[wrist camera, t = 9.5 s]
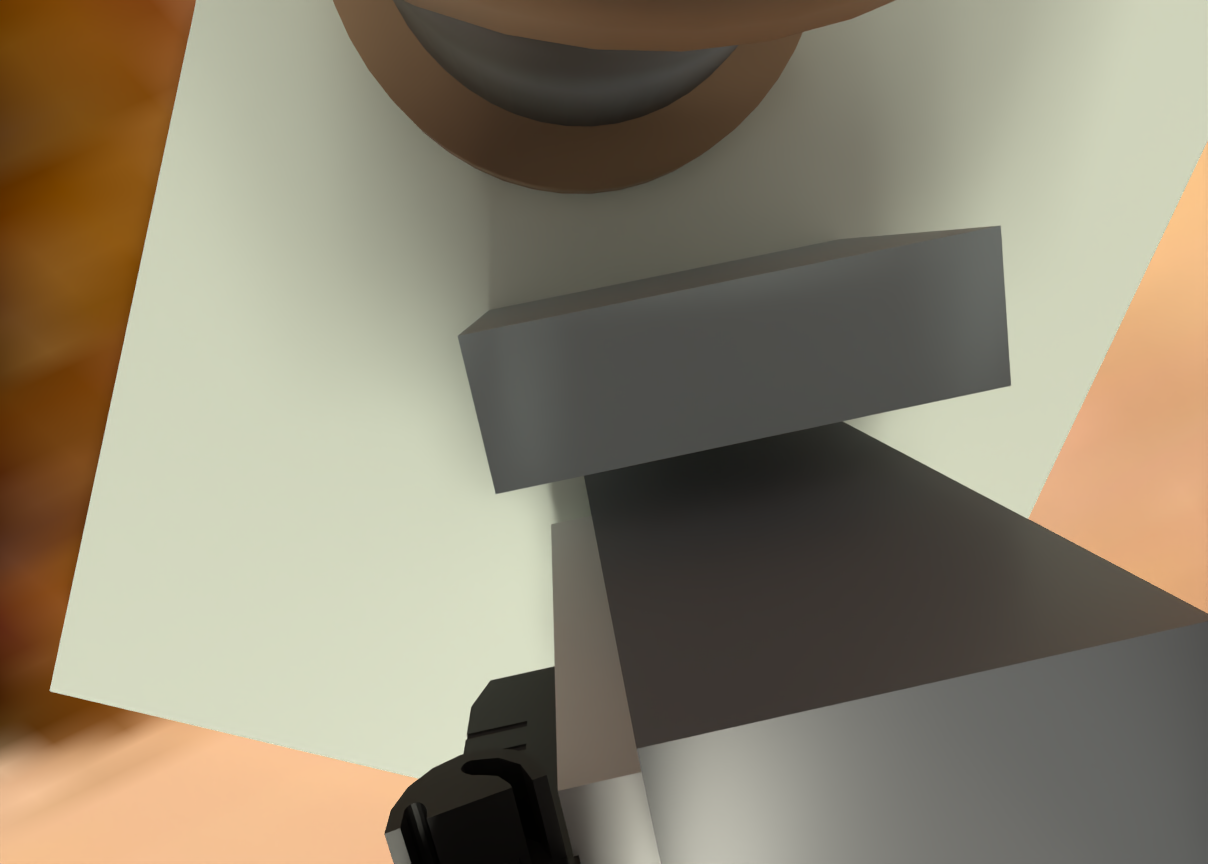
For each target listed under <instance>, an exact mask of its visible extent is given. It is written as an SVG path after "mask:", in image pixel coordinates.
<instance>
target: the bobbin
mask: <svg viewBox="0 0 1208 864" xmlns="http://www.w3.org/2000/svg"><path fill="white" fill-rule="evenodd" d="M893 1H895V0H333V2H334V5H335V7H336V9H337V11H338V14H339V16H340V18H341V20H342V23H343V25H344V27H345V29H346V31H347V34H348V36H349V38H350V40H351V41H352V43H353V45H354V46H355V48H356V50H357V51H358V53H359V55H360V56H361V58H362V60H363V61H364V63H365V65H366V66H367V68H368V70H369V71H370V72H371V74H372V75H373V76H374V78H375V79H376V80H377V81H378V83H379V84H380V85H381V87H382V88H383V89H384V90H385V92H386V93H387V94H388V96H389V97H390V98H391V99H392V100H393V101H394V103H395V104H396V105H397V106H398V107H399V108H400V109H401V110H402V111H403V112H404V113H405V114H406V115H407V116H408V117H409V118H410V119H411V120H412V121H413V122H414V123H415V124H416V125H417V126H418V127H419V128H420V129H421V130H422V131H423V132H424V133H425V134H426V135H427V136H429V137H430V138H431V139H432V140H434V141H435V142H436V143H438V144H439V145H440V146H441V147H443V148H444V149H445V150H446V151H448V152H449V153H451V154H452V155H454V156H455V157H457V158H459V159H460V160H462V161H464V162H465V163H467V164H469V165H470V166H472V167H474V168H475V169H478V170H480V171H482V172H484V173H487V174H489V175H491V176H494V177H496V178H498V179H500V180H503V181H506V182H509V183H513V184H516V185H519V186H523V187H526V188H530V189H534V190H541V191H548V192H555V193H561V194H593V193H601V192H609V191H617V190H622V189H625V188H629V187H633V186H637V185H640V184H644V183H648V182H650V181H652V180H655V179H657V178H659V177H662V176H664V175H666V174H669V173H671V172H673V171H675V170H677V169H679V168H680V167H682V166H684V165H685V164H687V163H689V162H691V161H692V160H694V159H696V158H697V157H699V156H700V155H702V154H703V153H705V152H706V151H708V150H709V149H710V148H712V147H713V146H714V145H715V144H717V143H718V142H719V141H721V140H722V139H723V138H724V137H726V136H727V135H728V134H729V133H731V132H732V131H733V130H735V129H736V128H737V127H738V126H739V125H740V124H741V123H742V122H743V121H744V119H745V118H746V117H747V116H748V115H749V114H750V113H751V112H752V111H753V110H754V109H755V108H756V107H757V106H758V105H759V104H760V102H761V101H762V100H763V98H764V97H765V96H766V94H767V93H768V92H769V91H770V89H771V88H772V87H773V85H774V84H775V83H776V81H777V80H778V79H779V77H780V75H781V73H782V72H783V70H784V68H785V66H786V65H787V63H788V61H789V60H790V58H791V56H792V54H793V53H794V51H795V49H796V47H797V44H798V42H799V40H800V38H801V35H802V33H803V32H805V31H809V30H812V29H816V28H820V27H824V26H827V25H831V24H835V23H839V22H842V21H846V20H850V19H853V18H855V17H858V16H860V15H862V14H865V13H867V12H870V11H872V10H874V9H877V8H879V7H881V6H884V5H886V4H888V3H891V2H893Z"/></svg>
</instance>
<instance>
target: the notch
mask: <svg viewBox="0 0 1208 864" xmlns="http://www.w3.org/2000/svg"><path fill="white" fill-rule="evenodd" d="M458 340H459V344H460V349H461V353H462V357H463V361H464V365H465V369H466V373H467V377H468V382H469V386H470V390H471V394H472V398H473V402H474V406H475V411H476V415H477V419H478V423H479V427H480V431H481V435H482V439H483V444H484V448H485V452H486V456H487V460H488V464H489V468H490V473H491V477H492V481H493V485H494V489H495V493H496V494H499V493H504V492H509V491H514V490H518V489H523V488H528V487H533V486H537V485H542V484H547V483H552V482H556V481H561V480H566V479H571V478H575V477H580V476H585V475H590V474H594V473H599V472H604V471H609V470H613V469H618V468H623V467H628V466H632V465H637V464H642V463H647V462H651V461H656V460H661V459H666V458H670V457H675V456H680V455H685V454H689V453H694V452H699V451H704V450H708V449H713V448H718V447H723V446H727V445H732V444H737V443H742V442H746V441H751V440H756V439H761V438H765V437H770V436H775V435H780V434H784V433H789V432H794V431H799V430H803V429H808V428H813V427H818V426H822V425H827V424H832V423H837V422H841V421H846V420H851V419H856V418H860V417H865V416H870V415H875V414H880V413H884V412H889V411H894V410H899V409H903V408H908V407H913V406H918V405H922V404H927V403H932V402H937V401H941V400H946V399H951V398H956V397H960V396H965V395H970V394H975V393H979V392H984V391H989V390H994V389H998V388H1003V387H1008V386H1011V375H1010V360H1009V345H1008V329H1007V314H1006V298H1005V283H1004V267H1003V252H1002V236H1001V226H989V227H978V228H966V229H954V230H942V231H930V232H918V233H906V234H895V235H883V236H871V237H859V238H847V239H838V240H833V241H828V242H823V243H818V244H813V245H808V246H803V247H798V248H794V249H789V250H784V251H779V252H774V253H769V254H764V255H759V256H754V257H749V258H744V259H739V260H734V261H729V262H724V263H719V264H714V265H710V266H705V267H700V268H695V269H690V270H685V271H680V272H675V273H670V274H665V275H660V276H655V277H650V278H645V279H640V280H635V281H631V282H626V283H621V284H616V285H611V286H606V287H601V288H596V289H591V290H586V291H581V292H576V293H571V294H566V295H561V296H556V297H551V298H547V299H542V300H537V301H532V302H527V303H522V304H517V305H512V306H507V307H502V308H497V309H492V310H489V311H487V312H486V313H485V314H484V315H482V316H481V317H480V318H479V319H478V320H476V321H475V322H474V323H473V324H471V325H470V326H469V327H468V328H467V329H465V330H464V331H463V332H462V333H460V334H459V335H458Z"/></svg>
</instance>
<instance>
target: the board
mask: <svg viewBox="0 0 1208 864" xmlns="http://www.w3.org/2000/svg"><path fill="white" fill-rule="evenodd" d="M1207 141H1208V0H895V1H893V2H891V3H888V4H886V5H884V6H881V7H879V8H877V9H874V10H872V11H870V12H867V13H865V14H862V15H860V16H858V17H855V18H853V19H850V20H846V21H842V22H839V23H835V24H831V25H827V26H824V27H820V28H816V29H812V30H809V31H805V32H803V33H802V35H801V38H800V40H799V42H798V44H797V47H796V49H795V51H794V53H793V54H792V56H791V58H790V60H789V61H788V63H787V65H786V66H785V68H784V70H783V72H782V73H781V75H780V77H779V79H778V80H777V81H776V83H775V84H774V85H773V87H772V88H771V89H770V91H769V92H768V93H767V94H766V96H765V97H764V98H763V100H762V101H761V102H760V104H759V105H758V106H757V107H756V108H755V109H754V110H753V111H752V112H751V113H750V114H749V115H748V116H747V117H746V118H745V119H744V121H743V122H742V123H741V124H740V125H739V126H738V127H737V128H736V129H735V130H733V131H732V132H731V133H729V134H728V135H727V136H726V137H724V138H723V139H722V140H721V141H719V142H718V143H717V144H715V145H714V146H713V147H712V148H710V149H709V150H708V151H706V152H705V153H703V154H702V155H700V156H699V157H697V158H696V159H694V160H692V161H691V162H689V163H687V164H685V165H684V166H682V167H680V168H679V169H677V170H675V171H673V172H671V173H669V174H666V175H664V176H662V177H659V178H657V179H655V180H652V181H650V182H648V183H644V184H640V185H637V186H633V187H629V188H625V189H622V190H617V191H609V192H601V193H593V194H561V193H555V192H548V191H541V190H534V189H530V188H526V187H523V186H519V185H516V184H513V183H509V182H506V181H503V180H500V179H498V178H496V177H494V176H491V175H489V174H487V173H484V172H482V171H480V170H478V169H475V168H474V167H472V166H470V165H469V164H467V163H465V162H464V161H462V160H460V159H459V158H457V157H455V156H454V155H452V154H451V153H449V152H448V151H446V150H445V149H444V148H443V147H441V146H440V145H439V144H438V143H436V142H435V141H434V140H432V139H431V138H430V137H429V136H427V135H426V134H425V133H424V132H423V131H422V130H421V129H420V128H419V127H418V126H417V125H416V124H415V123H414V122H413V121H412V120H411V119H410V118H409V117H408V116H407V115H406V114H405V113H404V112H403V111H402V110H401V109H400V108H399V107H398V106H397V105H396V104H395V103H394V101H393V100H392V99H391V98H390V97H389V96H388V94H387V93H386V92H385V90H384V89H383V88H382V87H381V85H380V84H379V83H378V81H377V80H376V79H375V78H374V76H373V75H372V74H371V72H370V71H369V70H368V68H367V66H366V65H365V63H364V61H363V60H362V58H361V56H360V55H359V53H358V51H357V50H356V48H355V46H354V45H353V43H352V41H351V40H350V38H349V36H348V34H347V31H346V29H345V27H344V25H343V23H342V20H341V18H340V16H339V14H338V11H337V9H336V7H335V5H334V2H333V0H196V4H195V9H194V14H193V18H192V23H191V28H190V33H189V37H188V42H187V47H186V51H185V56H184V61H183V66H182V70H181V75H180V80H179V84H178V89H177V94H176V99H175V103H174V108H173V113H172V117H171V122H170V127H169V131H168V136H167V141H166V146H165V150H164V155H163V160H162V164H161V169H160V174H159V179H158V183H157V188H156V193H155V197H154V202H153V207H152V212H151V216H150V221H149V226H148V230H147V235H146V240H145V245H144V249H143V254H142V259H141V263H140V268H139V273H138V278H137V282H136V287H135V292H134V296H133V301H132V306H131V310H130V315H129V320H128V325H127V329H126V334H125V339H124V343H123V348H122V353H121V358H120V362H119V367H118V372H117V376H116V381H115V386H114V391H113V395H112V400H111V405H110V409H109V414H108V419H107V424H106V428H105V433H104V438H103V442H102V447H101V452H100V456H99V461H98V466H97V471H96V475H95V480H94V485H93V489H92V494H91V499H90V504H89V508H88V513H87V518H86V522H85V527H84V532H83V537H82V541H81V546H80V551H79V555H78V560H77V565H76V570H75V574H74V579H73V584H72V588H71V593H70V598H69V603H68V607H67V612H66V617H65V621H64V626H63V631H62V635H61V640H60V645H59V650H58V654H57V659H56V664H55V668H54V673H53V678H52V683H51V687H50V691H51V692H55V693H60V694H64V695H68V696H72V697H77V698H81V699H85V700H89V701H93V702H98V703H102V704H106V705H110V706H114V707H119V708H123V709H127V710H131V711H136V712H140V713H144V714H148V715H152V716H157V717H161V718H165V719H169V720H174V721H178V722H182V723H186V724H190V725H195V726H199V727H203V728H207V729H211V730H216V731H220V732H224V733H228V734H233V735H237V736H241V737H245V738H249V739H254V740H258V741H262V742H266V743H271V744H275V745H279V746H283V747H287V748H292V749H296V750H300V751H304V752H308V753H313V754H317V755H321V756H325V757H330V758H334V759H338V760H342V761H346V762H351V763H355V764H359V765H363V766H368V767H372V768H376V769H380V770H384V771H389V772H393V773H397V774H401V775H405V776H410V777H414V778H418V779H419V778H421V777H422V776H423V775H424V774H426V773H427V772H428V771H429V770H431V769H432V768H434V767H436V766H438V765H440V764H442V763H444V762H447V761H449V760H451V759H453V758H455V757H457V756H459V755H462V754H463V753H464V747H465V741H466V740H467V729H468V723H469V717H470V711H471V706H472V705H473V704H474V702H475V701H476V699H477V698H478V697H479V695H480V694H481V693H482V691H483V690H484V689H485V687H486V686H487V684H488V683H489V682H490V680H494V679H499V678H503V677H508V676H512V675H517V674H522V673H526V672H531V671H535V670H540V669H544V668H549V667H554V666H555V660H554V619H553V579H552V539H551V524H555V523H560V522H565V521H569V520H574V519H579V518H583V517H588V516H592V515H591V510H590V505H589V500H588V495H587V489H586V484H585V479H584V476H580V477H575V478H571V479H566V480H561V481H556V482H552V483H547V484H542V485H537V486H533V487H528V488H523V489H518V490H514V491H509V492H504V493H499V494H496V493H495V489H494V485H493V481H492V477H491V473H490V468H489V464H488V460H487V456H486V452H485V448H484V444H483V439H482V435H481V431H480V427H479V423H478V419H477V415H476V411H475V406H474V402H473V398H472V394H471V390H470V386H469V382H468V377H467V373H466V369H465V365H464V361H463V357H462V353H461V349H460V344H459V340H458V335H459V334H460V333H462V332H463V331H464V330H465V329H467V328H468V327H469V326H470V325H471V324H473V323H474V322H475V321H476V320H478V319H479V318H480V317H481V316H482V315H484V314H485V313H486V312H487V311H489V310H492V309H497V308H502V307H507V306H512V305H517V304H522V303H527V302H532V301H537V300H542V299H547V298H551V297H556V296H561V295H566V294H571V293H576V292H581V291H586V290H591V289H596V288H601V287H606V286H611V285H616V284H621V283H626V282H631V281H635V280H640V279H645V278H650V277H655V276H660V275H665V274H670V273H675V272H680V271H685V270H690V269H695V268H700V267H705V266H710V265H714V264H719V263H724V262H729V261H734V260H739V259H744V258H749V257H754V256H759V255H764V254H769V253H774V252H779V251H784V250H789V249H794V248H798V247H803V246H808V245H813V244H818V243H823V242H828V241H833V240H838V239H847V238H859V237H871V236H883V235H895V234H906V233H918V232H930V231H942V230H954V229H966V228H978V227H989V226H1001V236H1002V252H1003V267H1004V283H1005V298H1006V314H1007V329H1008V345H1009V360H1010V375H1011V386H1008V387H1003V388H998V389H994V390H989V391H984V392H979V393H975V394H970V395H965V396H960V397H956V398H951V399H946V400H941V401H937V402H932V403H927V404H922V405H918V406H913V407H908V408H903V409H899V410H894V411H889V412H884V413H880V414H875V415H870V416H865V417H860V418H856V419H851V420H846V421H843V422H845V423H847V424H849V425H851V426H852V427H854V428H856V429H858V430H860V431H862V432H864V433H866V434H868V435H869V436H871V437H873V438H875V439H877V440H879V441H881V442H883V443H885V444H887V445H888V446H890V447H892V448H894V449H896V450H898V451H900V452H902V453H904V454H906V455H907V456H909V457H911V458H913V459H915V460H917V461H919V462H921V463H923V464H925V465H926V466H928V467H930V468H932V469H934V470H936V471H938V472H940V473H942V474H944V475H945V476H947V477H949V478H951V479H953V480H955V481H957V482H959V483H961V484H963V485H964V486H966V487H968V488H970V489H972V490H974V491H976V492H978V493H980V494H981V495H983V496H985V497H987V498H989V499H991V500H993V501H995V502H997V503H999V504H1000V505H1002V506H1004V507H1006V508H1008V509H1010V510H1012V511H1014V512H1016V513H1018V514H1019V515H1021V516H1023V517H1025V518H1027V519H1028V518H1029V515H1030V513H1031V511H1032V509H1033V507H1034V505H1035V503H1036V501H1037V499H1038V497H1039V494H1040V492H1041V490H1042V488H1043V486H1044V484H1045V482H1046V480H1047V478H1048V475H1049V473H1050V471H1051V469H1052V467H1053V465H1054V463H1055V461H1056V459H1057V457H1058V454H1059V452H1060V450H1061V448H1062V446H1063V444H1064V442H1065V440H1066V438H1067V436H1068V433H1069V431H1070V429H1071V427H1072V425H1073V423H1074V421H1075V419H1076V417H1077V414H1078V412H1079V410H1080V408H1081V406H1082V404H1083V402H1084V400H1085V398H1086V396H1087V393H1088V391H1089V389H1090V387H1091V385H1092V383H1093V381H1094V379H1095V377H1096V375H1097V372H1098V370H1099V368H1100V366H1101V364H1102V362H1103V360H1104V358H1105V356H1106V353H1107V351H1108V349H1109V347H1110V345H1111V343H1112V341H1113V339H1114V337H1115V335H1116V332H1117V330H1118V328H1119V326H1120V324H1121V322H1122V320H1123V318H1124V316H1125V313H1126V311H1127V309H1128V307H1129V305H1130V303H1131V301H1132V299H1133V297H1134V295H1135V292H1136V290H1137V288H1138V286H1139V284H1140V282H1141V280H1142V278H1143V276H1144V274H1145V271H1146V269H1147V267H1148V265H1149V263H1150V261H1151V259H1152V257H1153V255H1154V252H1155V250H1156V248H1157V246H1158V244H1159V242H1160V240H1161V238H1162V236H1163V234H1164V231H1165V229H1166V227H1167V225H1168V223H1169V221H1170V219H1171V217H1172V215H1173V213H1174V210H1175V208H1176V206H1177V204H1178V202H1179V200H1180V198H1181V196H1182V194H1183V191H1184V189H1185V187H1186V185H1187V183H1188V181H1189V179H1190V177H1191V175H1192V173H1193V170H1194V168H1195V166H1196V164H1197V162H1198V160H1199V158H1200V156H1201V154H1202V151H1203V149H1204V147H1205V145H1206V143H1207Z"/></svg>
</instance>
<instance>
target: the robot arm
mask: <svg viewBox="0 0 1208 864" xmlns="http://www.w3.org/2000/svg"><path fill="white" fill-rule="evenodd" d="M551 539H552V579H553V619H554V660H555V666H554V667H549V668H544V669H540V670H535V671H531V672H526V673H522V674H517V675H512V676H508V677H503V678H499V679H494V680H490V682H489V683H488V684H487V686H486V687H485V689H484V690H483V691H482V693H481V694H480V695H479V697H478V698H477V699H476V701H475V702H474V704H473V705H472V706H471V711H470V717H469V723H468V729H467V740H466V741H465V747H464V753H463V754H462V755H459V756H457V757H455V758H453V759H451V760H449V761H447V762H444V763H442V764H440V765H438V766H436V767H434V768H432V769H431V770H429V771H428V772H427V773H426V774H424V775H423V776H422V777H421V778H419V779H418V780H417V781H415V782H414V783H413V784H412V785H410V786H409V787H408V788H407V789H406V791H405V792H404V793H403V795H402V796H401V797H400V799H399V800H398V801H397V803H396V804H395V806H394V807H393V808H392V810H391V812H390V816H389V819H388V823H387V827H386V830H385V837H386V840H387V843H388V846H389V850H390V853H391V856H392V859H393V862H394V864H661V862H660V858H659V853H658V848H657V843H656V839H655V834H654V829H653V824H652V820H651V815H650V810H649V805H648V801H647V796H646V791H645V786H644V782H643V777H642V772H641V767H640V763H639V758H638V753H637V748H636V743H635V738H634V733H633V728H632V723H631V717H630V712H629V707H628V702H627V697H626V691H625V686H624V681H623V676H622V671H621V666H620V660H619V655H618V650H617V645H616V640H615V634H614V629H613V624H612V619H611V614H610V609H609V603H608V598H607V593H606V588H605V583H604V577H603V572H602V567H601V562H600V557H599V552H598V546H597V541H596V536H595V531H594V526H593V521H592V516H588V517H583V518H579V519H574V520H569V521H565V522H560V523H555V524H551Z"/></svg>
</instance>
